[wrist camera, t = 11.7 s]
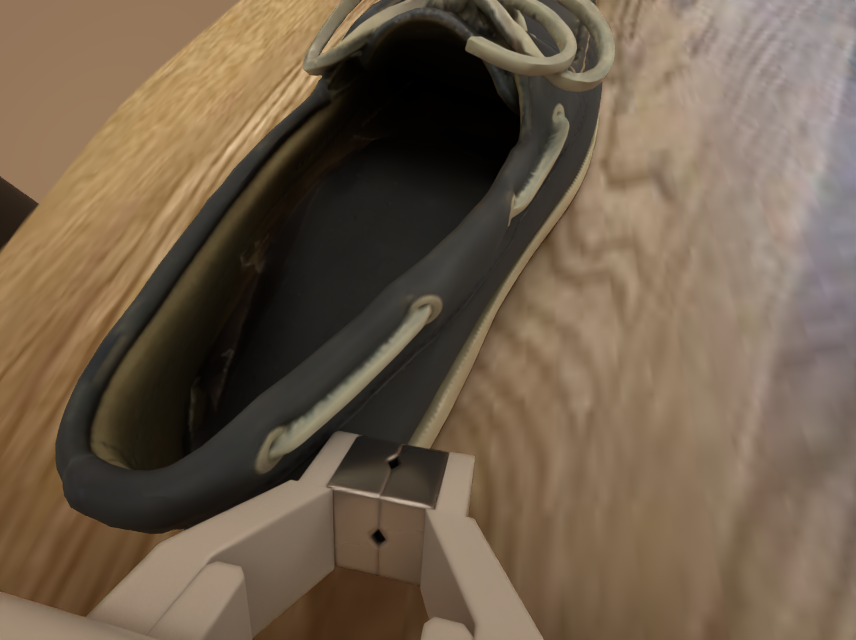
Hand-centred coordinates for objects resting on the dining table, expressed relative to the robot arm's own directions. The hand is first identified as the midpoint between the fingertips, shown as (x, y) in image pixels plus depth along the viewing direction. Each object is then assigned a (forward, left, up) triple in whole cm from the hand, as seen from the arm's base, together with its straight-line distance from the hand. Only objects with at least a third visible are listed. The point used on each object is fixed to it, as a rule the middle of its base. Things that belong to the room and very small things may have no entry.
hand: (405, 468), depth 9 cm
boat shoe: (-1, +10, -5) cm, 12 cm away
